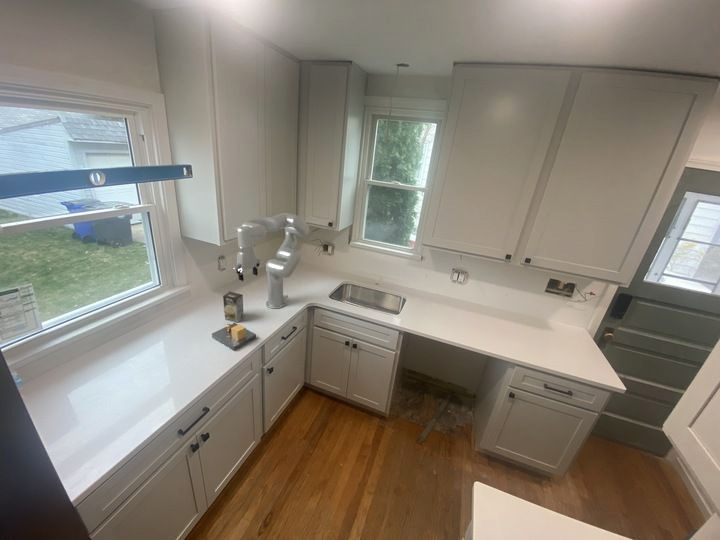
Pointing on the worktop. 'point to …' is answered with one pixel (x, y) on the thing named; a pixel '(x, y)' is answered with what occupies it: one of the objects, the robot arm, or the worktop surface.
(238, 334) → the tan cardboard cube
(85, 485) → the worktop surface
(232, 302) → the coffee box
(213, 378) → the worktop surface
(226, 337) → the plate
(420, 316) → the worktop surface
